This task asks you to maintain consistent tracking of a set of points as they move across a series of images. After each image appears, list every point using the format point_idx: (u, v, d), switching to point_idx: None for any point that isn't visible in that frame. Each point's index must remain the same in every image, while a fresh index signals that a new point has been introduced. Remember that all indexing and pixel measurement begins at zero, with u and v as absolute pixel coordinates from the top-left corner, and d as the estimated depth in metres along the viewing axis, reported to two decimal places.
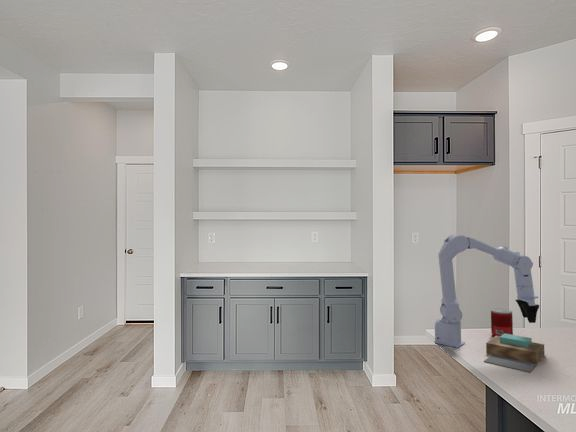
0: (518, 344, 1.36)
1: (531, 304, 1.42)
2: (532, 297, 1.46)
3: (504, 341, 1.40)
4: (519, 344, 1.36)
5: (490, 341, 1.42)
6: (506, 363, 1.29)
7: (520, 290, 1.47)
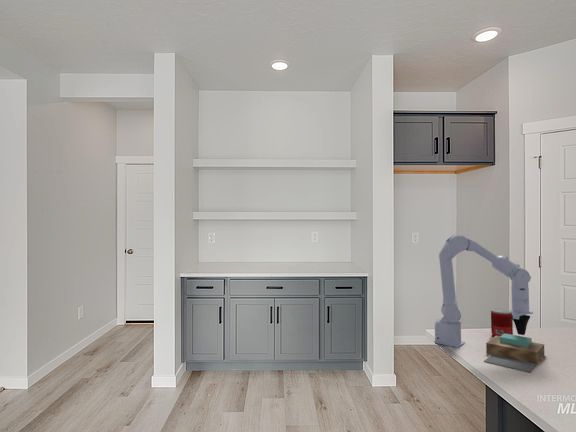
0: (518, 344, 1.36)
1: (515, 317, 1.40)
2: (523, 312, 1.43)
3: (504, 341, 1.40)
4: (519, 344, 1.36)
5: (490, 341, 1.42)
6: (506, 363, 1.29)
7: (513, 303, 1.46)
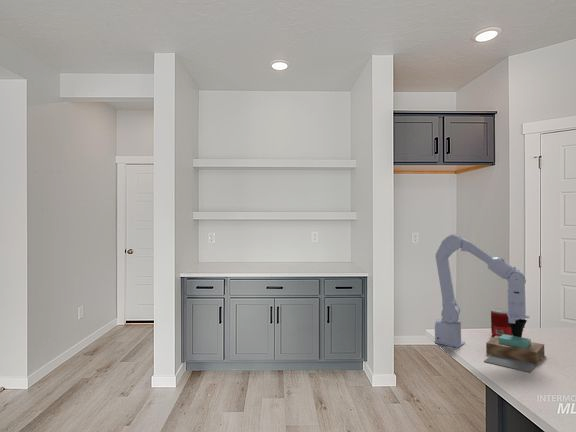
0: (517, 345, 1.35)
1: (510, 321, 1.37)
2: (519, 316, 1.39)
3: (503, 342, 1.39)
4: (518, 345, 1.35)
5: (490, 341, 1.42)
6: (506, 363, 1.29)
7: (509, 306, 1.42)
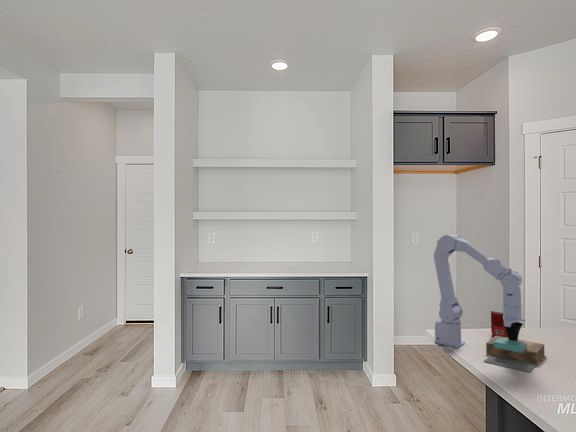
0: (512, 349, 1.31)
1: (506, 325, 1.32)
2: (515, 319, 1.35)
3: (498, 346, 1.34)
4: (513, 349, 1.31)
5: (490, 341, 1.42)
6: (506, 363, 1.29)
7: (504, 309, 1.37)
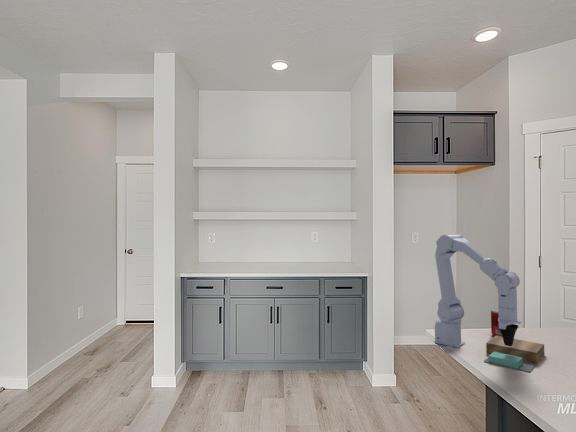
0: None
1: (501, 327, 1.28)
2: (511, 321, 1.30)
3: None
4: None
5: (490, 341, 1.42)
6: None
7: (499, 311, 1.33)
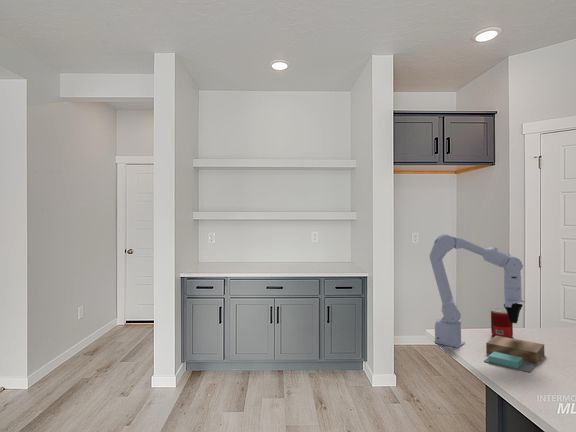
0: None
1: (507, 305, 1.40)
2: (515, 300, 1.43)
3: None
4: None
5: (490, 341, 1.42)
6: None
7: (505, 291, 1.46)
